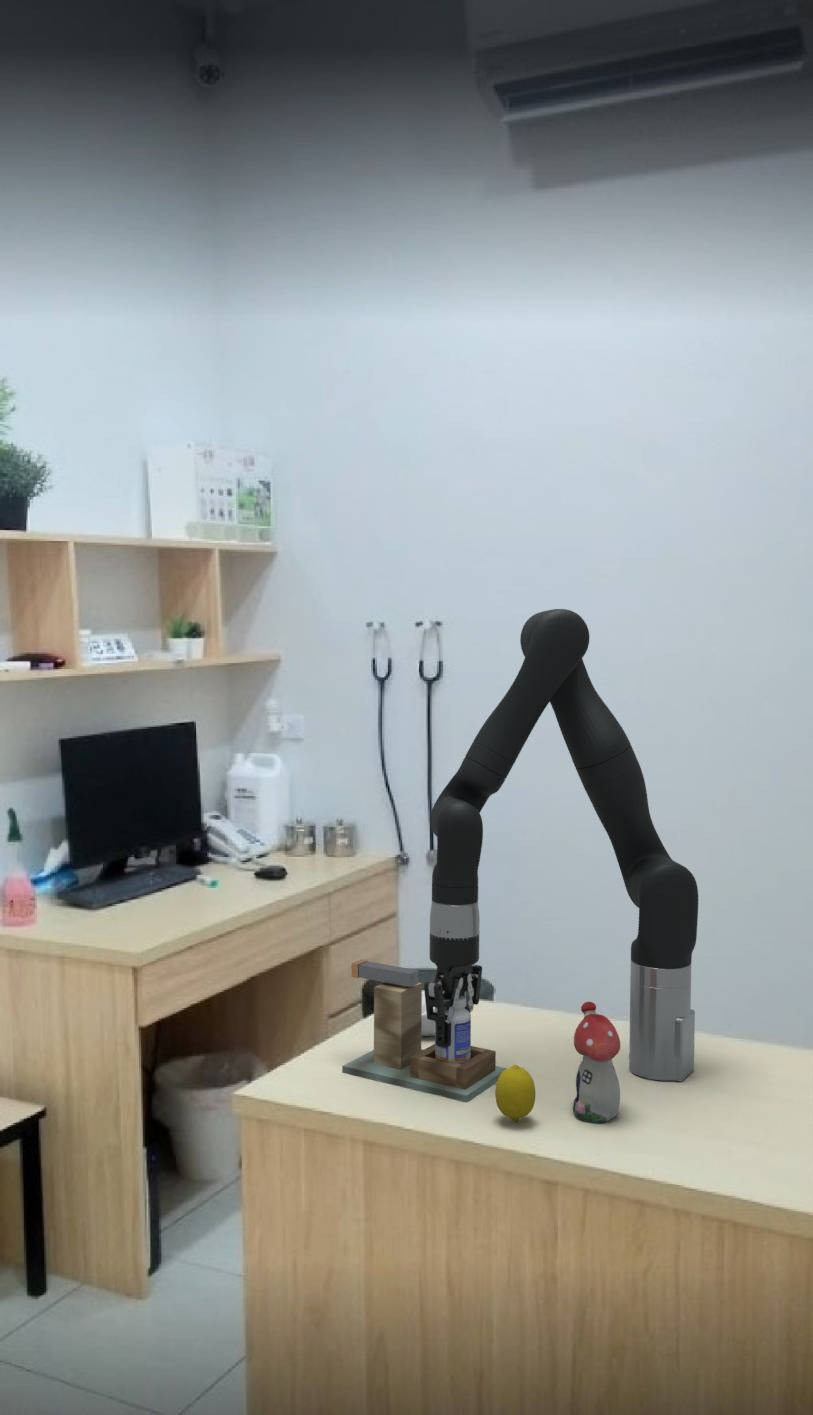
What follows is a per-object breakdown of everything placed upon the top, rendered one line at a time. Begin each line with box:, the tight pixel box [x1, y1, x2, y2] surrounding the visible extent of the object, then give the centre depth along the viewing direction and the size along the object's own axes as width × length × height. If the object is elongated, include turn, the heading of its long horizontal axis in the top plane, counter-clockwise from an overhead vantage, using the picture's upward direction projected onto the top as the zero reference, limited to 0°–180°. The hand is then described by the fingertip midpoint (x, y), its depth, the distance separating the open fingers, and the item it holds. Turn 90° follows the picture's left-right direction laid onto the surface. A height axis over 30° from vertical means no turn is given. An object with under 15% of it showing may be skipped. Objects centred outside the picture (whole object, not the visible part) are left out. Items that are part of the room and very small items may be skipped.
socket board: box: [341, 982, 508, 1103], centre depth 176 cm, size 22×13×13 cm, turn 58°
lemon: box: [494, 1064, 536, 1123], centre depth 158 cm, size 6×6×8 cm
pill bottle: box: [434, 995, 472, 1065], centre depth 173 cm, size 5×5×10 cm
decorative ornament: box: [572, 1001, 621, 1124], centre depth 161 cm, size 9×6×15 cm
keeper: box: [351, 959, 420, 987], centre depth 179 cm, size 11×3×2 cm, turn 58°
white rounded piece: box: [421, 990, 435, 1037], centre depth 194 cm, size 8×8×8 cm
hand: (453, 1040), depth 173 cm, fingers closed on pill bottle, 5 cm apart
